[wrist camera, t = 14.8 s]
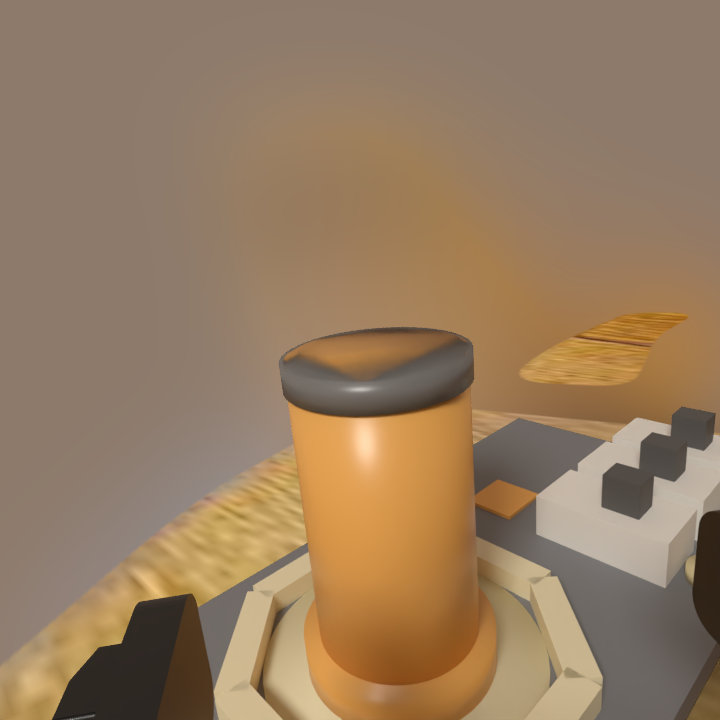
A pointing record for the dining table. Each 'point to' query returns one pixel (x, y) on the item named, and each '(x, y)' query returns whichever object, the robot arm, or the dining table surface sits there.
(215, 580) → the dining table surface
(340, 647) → the cap
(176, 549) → the dining table surface
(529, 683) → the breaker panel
